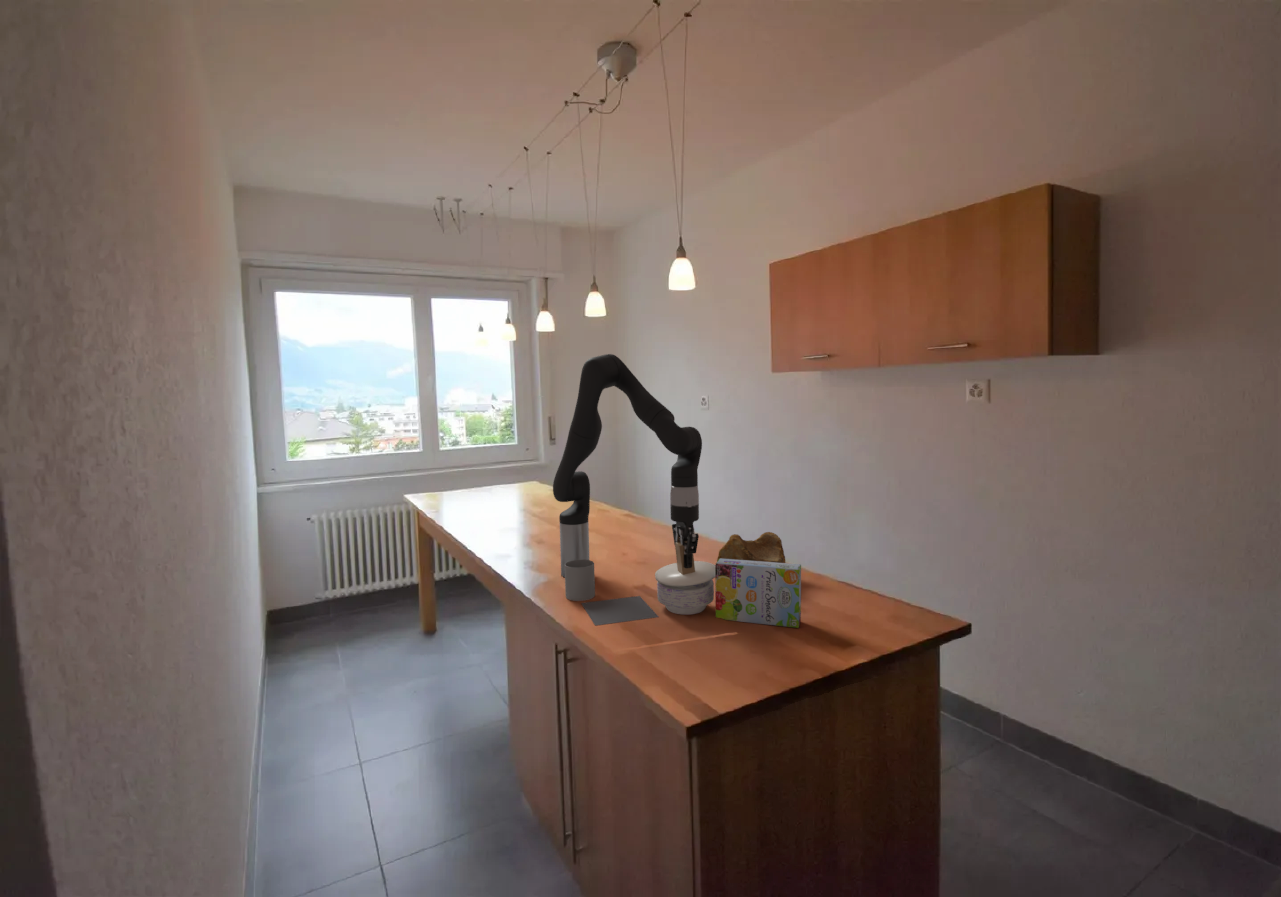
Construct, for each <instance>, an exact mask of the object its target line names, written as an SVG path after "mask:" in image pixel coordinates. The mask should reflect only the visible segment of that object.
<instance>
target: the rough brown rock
mask: <svg viewBox="0 0 1281 897" xmlns="http://www.w3.org/2000/svg"><path fill="white" fill-rule="evenodd" d="M782 543H783V542H782V539H781V538H780V537H779V536H778V534H776V533H774V532H771V531H767V532H763V533H762V534H761V535H759V537H758V538H756V539H754V540H745V539H743V538H742V537H741V535H739V534H731V535H730V536H729V537H728V540H727V541H726V542H725V544H724V545H723V546H722V547H721V548H720V549H719V551H718V555H717V559H716V562H717V561H718V560H719V559H720V558H721V559H735V560H749V561H762V562H776V563H786V556H785V552H784V548H783V544H782Z"/></svg>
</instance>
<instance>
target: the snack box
mask: <svg viewBox="0 0 1281 897" xmlns="http://www.w3.org/2000/svg"><path fill="white" fill-rule="evenodd" d="M714 565H715V578H714V579H715V583H714V585H715V588H714V599H715V618H718V619H719V618H720V619H722V620H725V621H733V622H742V623H743V622H744V623H749V624H751V623H752V624H758V625H768V626H770V625H771V626H777V627H787V628H795V629H796V628H797V629H799V628H800V625H801V620H802V564H801V563H800V564H799V563H787V562H785V563H776V562H762V561H749V560H735V559H721V558H720V559H719V560H718V561H717V560H716V563H715V564H714Z"/></svg>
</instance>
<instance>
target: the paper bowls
mask: <svg viewBox="0 0 1281 897" xmlns="http://www.w3.org/2000/svg"><path fill="white" fill-rule="evenodd" d="M714 585H715V583H714V581H713V579H712V580H710V581H707V582H704V583H701V584H697V585H690V586H669V585H664V584H661V583H659V582H658V581H657V582H656V586H657V589H656V591H657V593H656V594H657V595H656V596H657V601H658V602H659V603H660V604H662V605H663V606H665V608H666V610H668V612H670V613H673V614H677V615H684V616H685V615H695V614H696V615H697V614H699V613H702V612H703V611H704V610H705V609H706V608H707V606H708V605H709V604H711V603H712V602H713V601H714V599H715V588H714Z"/></svg>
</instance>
